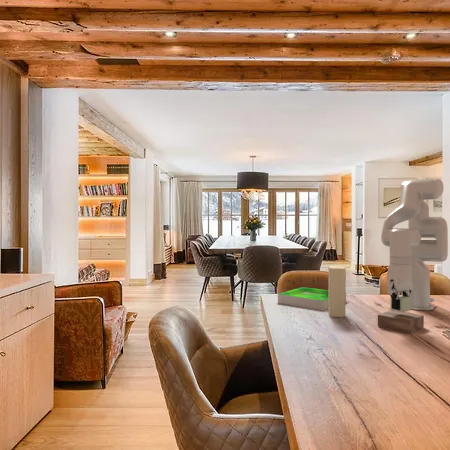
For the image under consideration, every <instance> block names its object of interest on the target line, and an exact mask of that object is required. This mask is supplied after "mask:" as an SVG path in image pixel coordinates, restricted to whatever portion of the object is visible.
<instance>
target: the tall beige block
mask: <svg viewBox="0 0 450 450" xmlns="http://www.w3.org/2000/svg"><path fill="white" fill-rule="evenodd" d="M327 274H328V278H327V279H328V289H327V290H328V310H327V311H328V315H329V317H331V318H332V317H333V318H346V302H345V295H346V296H347V291H346V290H347V289H346V282H347V281H346V277H347V274H346V267H345V266H343V265H341V266H340V265H329V266H328V273H327Z"/></svg>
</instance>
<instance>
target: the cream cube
mask: <svg viewBox="0 0 450 450" xmlns="http://www.w3.org/2000/svg"><path fill="white" fill-rule="evenodd" d="M399 299H400V310H396V309H392V298H391V297H390V311H391V310H396V311H400V312H409V311H411V310H412V309H411V299H410V297H406V296H402V294H401V295H399Z"/></svg>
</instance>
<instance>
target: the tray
mask: <svg viewBox="0 0 450 450" xmlns="http://www.w3.org/2000/svg"><path fill="white" fill-rule="evenodd" d="M346 302H347V294H346V295H345V303H346ZM277 303H278V304H282V303H283V304H282V305H288V304H289V306H296V307H302V308H307V309H314V310H318V311H319V310H320V311H326V310H327V309H328V289H319V288H313V287H312V288H311V287H304V286H302V287H298V288H293V289H291V290H288V291H284V292H280V293H277Z"/></svg>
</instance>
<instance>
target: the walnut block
mask: <svg viewBox="0 0 450 450" xmlns="http://www.w3.org/2000/svg"><path fill="white" fill-rule="evenodd" d="M424 316H425V315H422V314H417V313H414V312H413V313H412V312H408V311H405V312H400V311H396V310H391V309H390V310H388V311H385V312H382V313H378V314H377V327H378V328H382V329H387V330H390V331H391V330H392V331H394V332H395V331H396V332H400V333H403V334H412V333H414V332H416V331H419V330H423V328H424V327H425V325H424V324H425V318H424Z"/></svg>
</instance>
